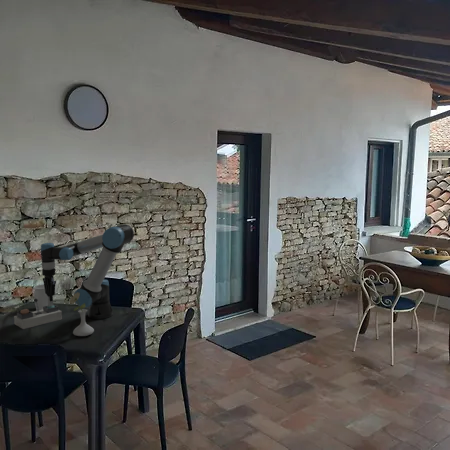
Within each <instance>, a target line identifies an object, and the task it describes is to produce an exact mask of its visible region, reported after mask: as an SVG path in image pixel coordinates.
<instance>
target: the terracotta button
mask: <svg viewBox="0 0 450 450" xmlns="http://www.w3.org/2000/svg"><path fill="white" fill-rule="evenodd" d="M29 311H30V310H29V309H28V308H24V309H21V310H20V312H21V315H24V314H28V313H29Z"/></svg>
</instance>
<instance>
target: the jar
mask: <svg viewBox="0 0 450 450" xmlns="http://www.w3.org/2000/svg"><path fill="white" fill-rule="evenodd" d="M33 289H34V292H33V293H34V295H33V296H34V297H33V298H34V299H37V300H38V301H37V302H38V307H39V310H43V307H44V306H48V298H47V294H45V288H44V284H38V285H35V286H33Z"/></svg>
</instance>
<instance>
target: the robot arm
mask: <svg viewBox="0 0 450 450" xmlns="http://www.w3.org/2000/svg"><path fill="white" fill-rule="evenodd" d="M134 237H135V231H134V228H132V226H130V225H129V224H120V225H116V226H110V227H109V228H107V229H106V230H105V231H103V234H100V235H96V236H93V237H90V238H87V239H84V240H82V241H78V242H75V243H74V242H73V243H71V244H69V245H64V246H60V247H59V246H55V244H54V242H44V243H42V244H41V245H40V254H41V256H40V257H41V268H42V269H41V273H42V274H41V275H42V276H44V277H43V278H42V282H43V285H44V288H45V294H47V298H48V306H49V307H50V306H53V305H54V296H55V295H56V283H57V280H55V278H54V275H56V260H59V261H60V260H61V261H70V260H72V258H73V257H77V256H80V255H82V254H85V253H89V252H92V251H95V250H99V249H101V250H100V252H99V255H98V256H97V259H96V261H95V263H94V265H93V267H92V268H91V271H90V273H89V275H88V277H87V279H85V280H83V281H82V283H81V285H80V288H78V289H77V290H75V291H74V293H73V295H74V294H75V293H77V292H78V293H80V296H79V298H78V299H77V301H78V302H77V301H76V302H75V303H76V305H77V307H79V305H80V306H81V305H83V304H84V303H85V308H88V307H89V308H88V310H87V317H88V318H89V319H93V320H102V319H108V318H110V317H112V316H113V315H114V313H113V312H114V311H113V308H112V305H111V303H110V302H111V301H110V284H109V280H108V279H105V278H106V276H107V273H109V272H108V271H109V270H110V268H111V266H112V265H113V261H114V260H115V258H116V255H117V254H120V253H121V251H122V250H123V248H124V246H125V245H127V244H129V243H131V242H132V240H133V239H134ZM78 303H79V304H78Z"/></svg>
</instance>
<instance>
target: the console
mask: <svg viewBox="0 0 450 450" xmlns="http://www.w3.org/2000/svg"><path fill="white" fill-rule="evenodd" d="M53 305H54V306H55V307H54V308H49V309H48V308H47V306H44V307H43V310H39V312H37V311H36V310H35V311H30V310H29V313H28V314H24V315H21V311H19V312H16V315H13V320H14V325H16V326H17V327H19V328H20V329H22V330H26V329H30V328H33V327H37V326H40V325H44V324H48V323H52V322H57V321H60V320H63V312H62V311H63V310H60V309H59V306H58V305H56V304H53Z"/></svg>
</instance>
